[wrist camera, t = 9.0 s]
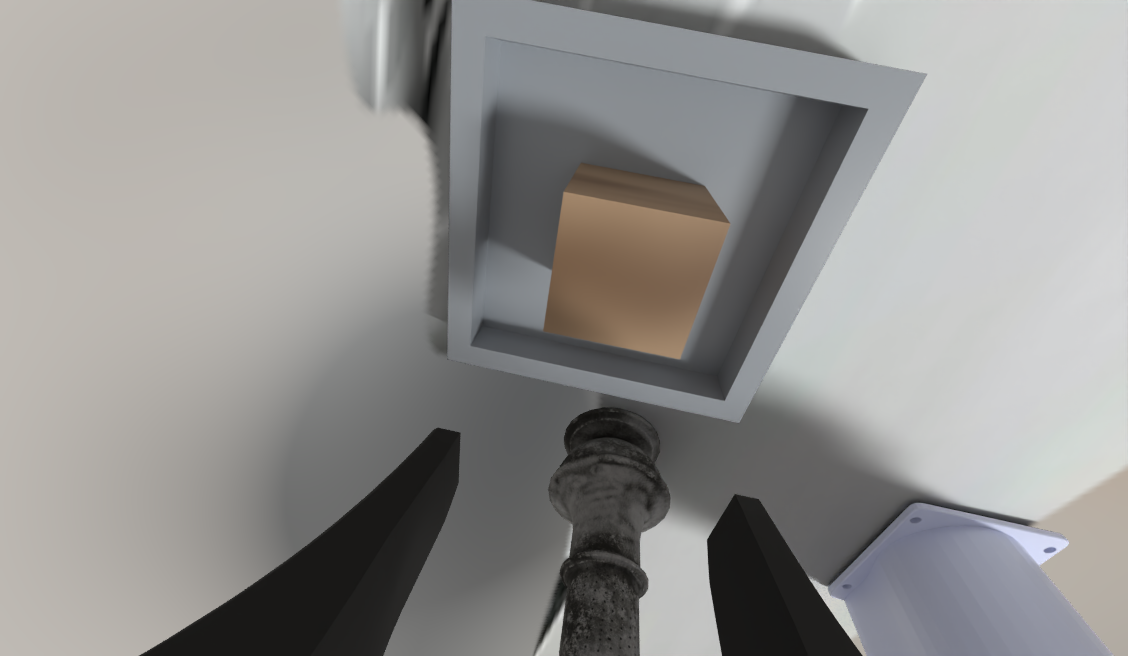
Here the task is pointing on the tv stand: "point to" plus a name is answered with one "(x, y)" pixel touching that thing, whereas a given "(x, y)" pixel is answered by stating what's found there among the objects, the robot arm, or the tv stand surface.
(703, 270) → the block
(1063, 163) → the tv stand surface
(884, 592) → the robot arm
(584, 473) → the dark grey turned piece
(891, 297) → the tv stand surface
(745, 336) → the tray
